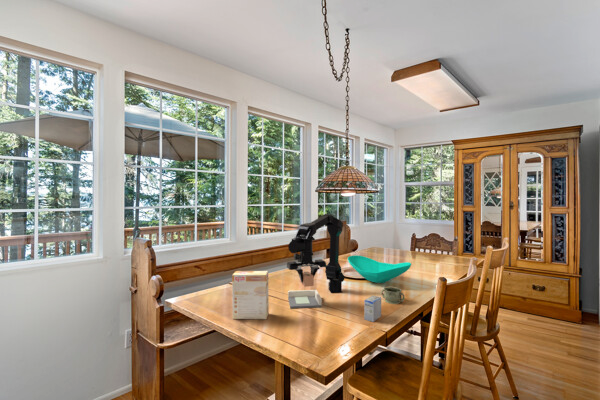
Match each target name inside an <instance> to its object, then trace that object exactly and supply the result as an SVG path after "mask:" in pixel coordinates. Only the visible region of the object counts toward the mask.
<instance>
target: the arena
mask: <svg viewBox="0 0 600 400" xmlns="http://www.w3.org/2000/svg"><path fill="white" fill-rule="evenodd" d="M287 300H288V304H289V309H290V310H292V309H311V308H315V309H316V308H322V306H323V305H322V300H323V299H322V297H321V295H320V292H318V290H317V289H306V290H305V289H304V290H303V289H302V290H288V291H287Z"/></svg>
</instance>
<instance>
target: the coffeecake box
mask: <svg viewBox="0 0 600 400" xmlns="http://www.w3.org/2000/svg"><path fill="white" fill-rule="evenodd" d="M231 279H232V281H231V283H232V285H231V286H232V287H231V289H232V290H231V291H232V294H231V297H232V320H267V319H268V316H269V311H270V310H269V309H270V308H269V307H270V306H269V271H268V270H236V271H234V273H232V275H231Z"/></svg>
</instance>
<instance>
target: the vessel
mask: <svg viewBox="0 0 600 400" xmlns="http://www.w3.org/2000/svg"><path fill="white" fill-rule="evenodd" d="M383 292H384V293H383ZM381 295H382V298H383V299H384V302H385V303H387V304H392V305H398V304H400V303H403V302H404V299H405V294H404V293H403V292H402V289H401V288H400V287H395V286H385V287H384V288H382V289H381ZM402 296H403V297H402Z"/></svg>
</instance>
